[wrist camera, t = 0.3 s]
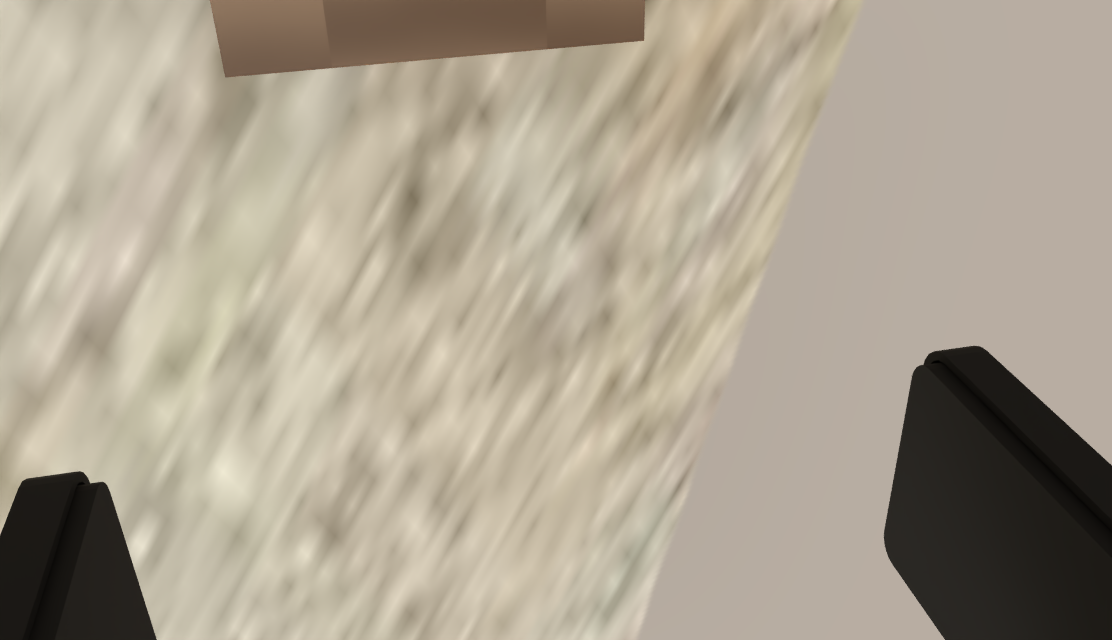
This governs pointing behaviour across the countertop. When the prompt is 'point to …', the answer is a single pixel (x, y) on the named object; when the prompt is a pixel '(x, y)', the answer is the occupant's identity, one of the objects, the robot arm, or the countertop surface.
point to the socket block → (408, 30)
